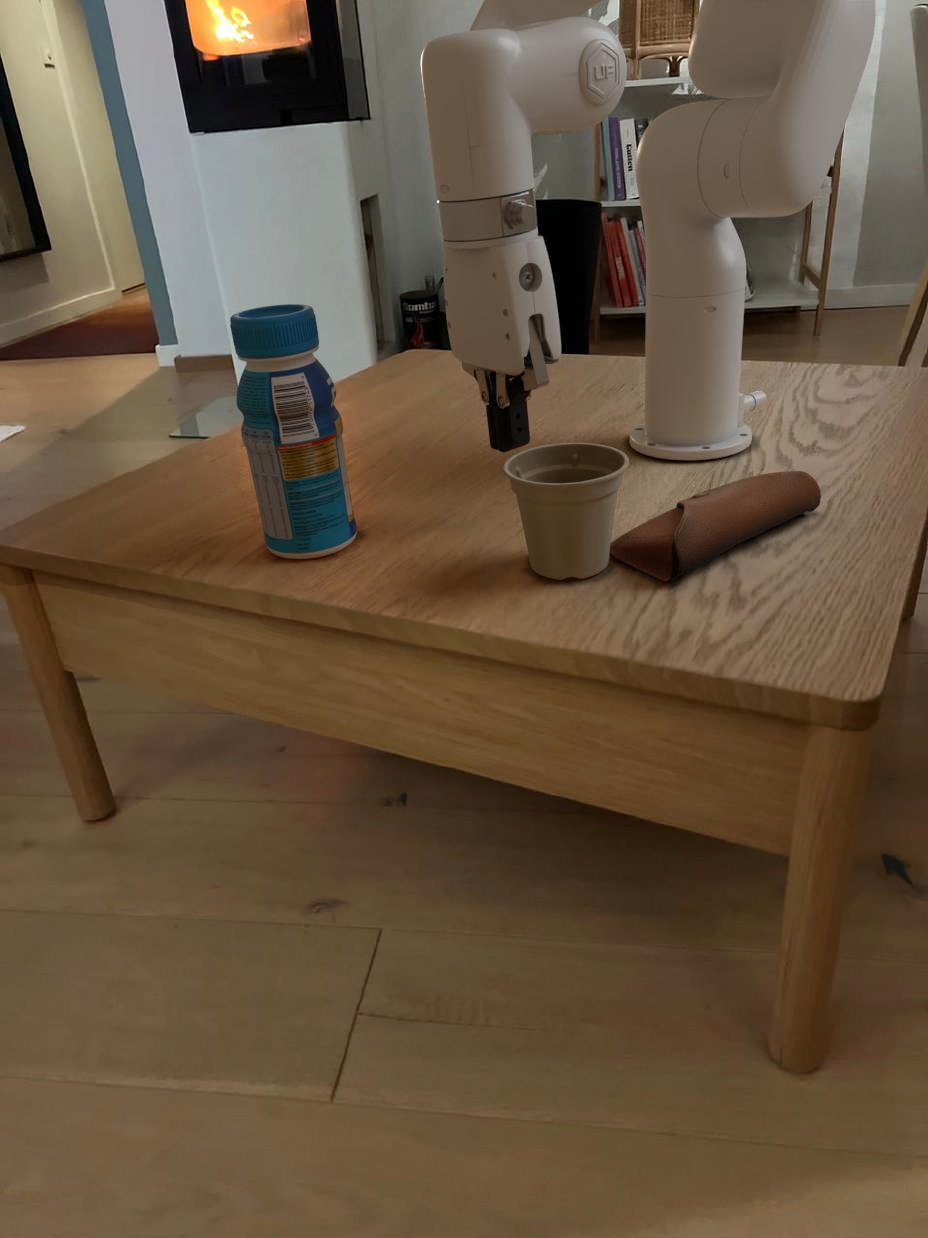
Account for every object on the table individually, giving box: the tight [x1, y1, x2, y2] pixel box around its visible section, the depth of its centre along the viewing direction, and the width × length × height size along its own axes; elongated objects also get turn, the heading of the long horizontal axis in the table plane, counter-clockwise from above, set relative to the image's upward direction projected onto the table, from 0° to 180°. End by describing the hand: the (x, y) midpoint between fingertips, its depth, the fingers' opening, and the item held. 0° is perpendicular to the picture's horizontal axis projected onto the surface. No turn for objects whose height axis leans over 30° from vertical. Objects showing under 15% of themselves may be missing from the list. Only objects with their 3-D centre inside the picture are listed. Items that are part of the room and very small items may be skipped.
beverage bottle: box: [229, 303, 358, 560], centre depth 76 cm, size 8×8×20 cm
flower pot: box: [502, 442, 630, 581], centre depth 70 cm, size 9×9×9 cm
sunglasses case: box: [609, 470, 822, 583], centre depth 74 cm, size 18×7×7 cm
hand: (510, 445), depth 79 cm, fingers closed
